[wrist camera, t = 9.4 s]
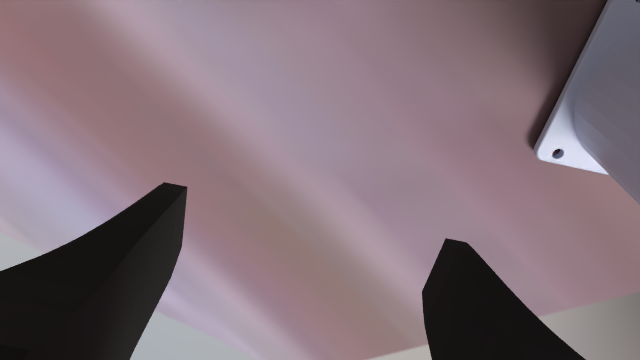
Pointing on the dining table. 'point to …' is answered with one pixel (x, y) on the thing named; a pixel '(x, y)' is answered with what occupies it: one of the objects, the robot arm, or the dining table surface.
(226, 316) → the dining table surface
